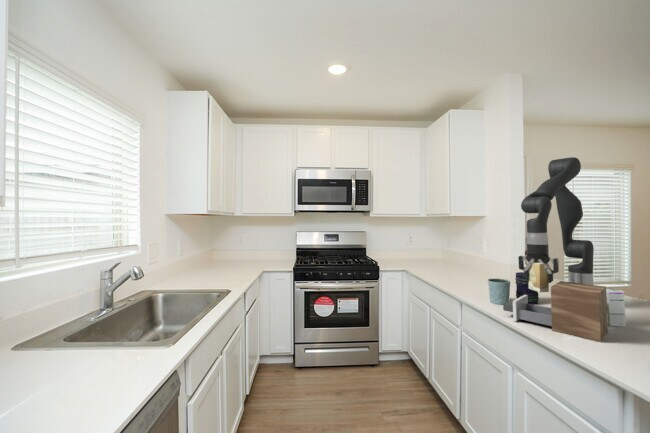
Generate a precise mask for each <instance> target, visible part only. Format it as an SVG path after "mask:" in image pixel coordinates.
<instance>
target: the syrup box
mask: <svg viewBox="0 0 650 433" xmlns="http://www.w3.org/2000/svg"><path fill="white" fill-rule="evenodd" d="M606 298H607V326H610V327H626V325H627V324H626V311H625V310H626V308H625V306H626V305H625V291H623V290H620V289H617V288H613V287H606Z"/></svg>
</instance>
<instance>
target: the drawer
mask: <svg viewBox="0 0 650 433" xmlns="http://www.w3.org/2000/svg"><path fill="white" fill-rule="evenodd" d="M502 306H503V307H502V309H503V311H504V312H509V313H512V318H513V319H512V321H513V322H518V321H520V320H523V321H527V322H531V323H536V324H541V325H544V326H549V327H552V314H551V307H547V306H543V305H539V304H537V305H532V304H528V295H523V296H521V297H519V298H515V299H514V300H510V299H509V301H508V302H506V303H504V304H503V305H502Z"/></svg>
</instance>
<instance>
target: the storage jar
mask: <svg viewBox="0 0 650 433" xmlns="http://www.w3.org/2000/svg"><path fill="white" fill-rule="evenodd" d="M515 286H516V289H515V299H517V298H519V297H521V296H523V295H528V304H532V305H539V299H540V297H539V295H540V294H539V292H538V291H534V290H531V289H529V280H526V279H525V278H524V271H523V272H522V271H521V272H515Z"/></svg>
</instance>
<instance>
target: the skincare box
mask: <svg viewBox="0 0 650 433" xmlns="http://www.w3.org/2000/svg"><path fill="white" fill-rule="evenodd" d="M527 262H528V261H527ZM528 263H529V262H528ZM528 263H527V264H528ZM546 266H548V267H549V266H550V264H549V262H548V263H547V264H546ZM544 267H545V266H544V264H542V263H534V262H533V263H532V265H531V266H530V268H529V269H528V272H529V289H531V290H534V291H538V293H550V291H549V290H550V286H549V285H550V283H548V274H549V273H548V272H547V271H546V270H545V269H544Z"/></svg>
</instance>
